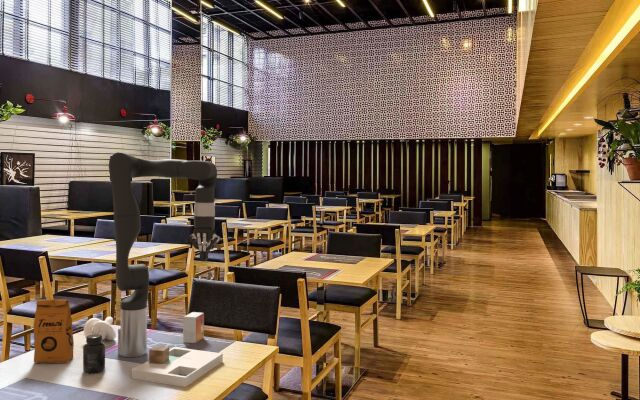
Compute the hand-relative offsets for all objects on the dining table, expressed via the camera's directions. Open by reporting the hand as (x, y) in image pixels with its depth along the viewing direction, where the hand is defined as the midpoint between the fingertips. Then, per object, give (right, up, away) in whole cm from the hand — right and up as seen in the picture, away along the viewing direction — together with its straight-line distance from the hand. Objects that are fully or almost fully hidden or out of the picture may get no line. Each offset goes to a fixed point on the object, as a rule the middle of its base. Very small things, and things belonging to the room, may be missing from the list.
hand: (203, 261), depth 188 cm
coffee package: (-51, -35, -9) cm, 62 cm away
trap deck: (-5, -35, -15) cm, 39 cm away
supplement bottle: (-33, -35, -18) cm, 51 cm away
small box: (-8, -35, +17) cm, 39 cm away
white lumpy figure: (-44, -34, +14) cm, 57 cm away
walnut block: (-12, -32, -16) cm, 38 cm away
